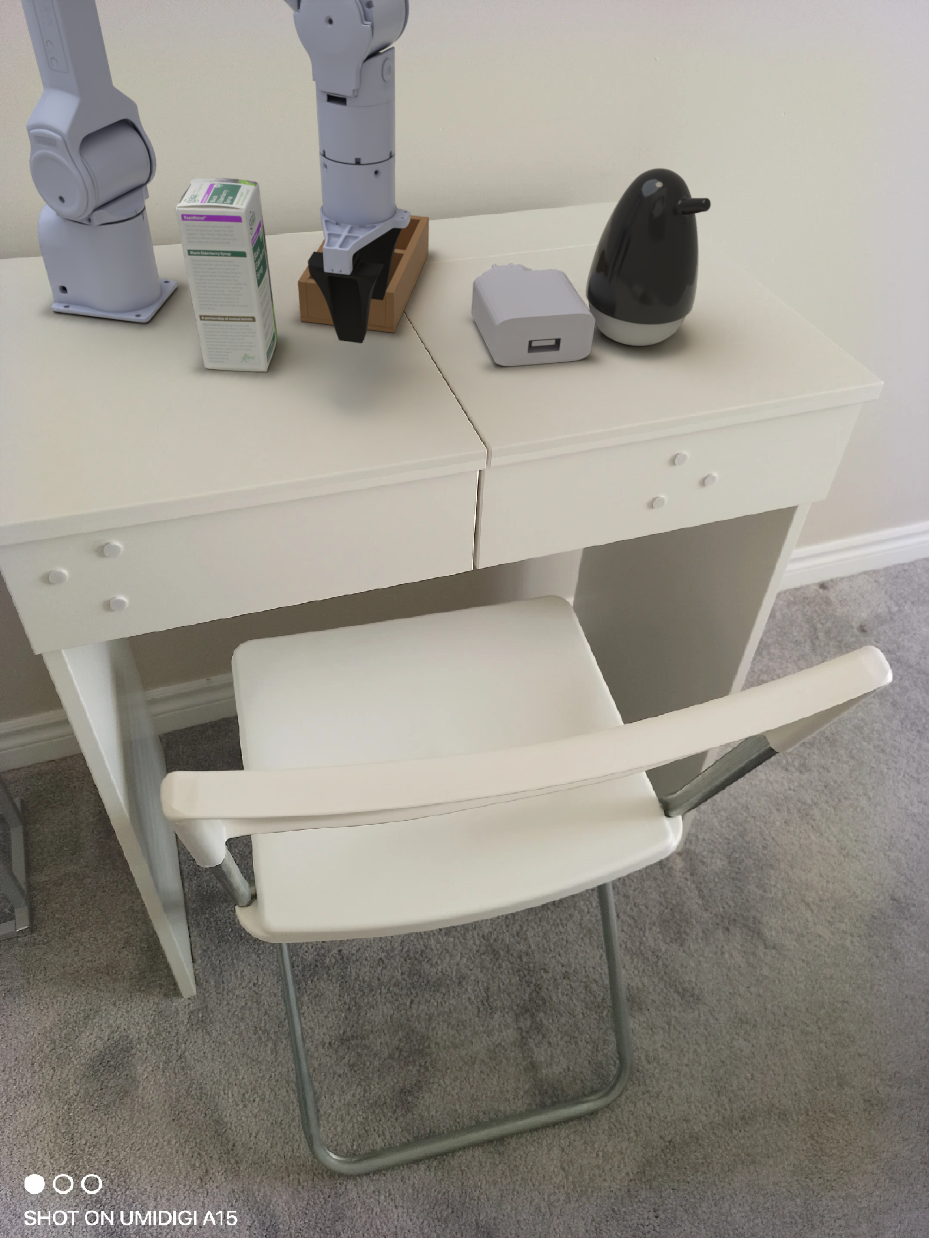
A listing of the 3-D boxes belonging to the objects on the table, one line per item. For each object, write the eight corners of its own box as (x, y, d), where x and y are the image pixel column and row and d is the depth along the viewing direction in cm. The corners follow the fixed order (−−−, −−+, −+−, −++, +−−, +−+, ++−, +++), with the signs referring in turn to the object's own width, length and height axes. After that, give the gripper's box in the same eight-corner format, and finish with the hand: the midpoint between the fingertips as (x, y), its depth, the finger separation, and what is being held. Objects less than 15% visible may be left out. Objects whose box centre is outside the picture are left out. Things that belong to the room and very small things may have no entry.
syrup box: (268, 373, 84) (250, 207, 74) (201, 370, 84) (173, 203, 74) (278, 340, 88) (262, 179, 78) (214, 337, 88) (189, 175, 78)
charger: (543, 285, 98) (589, 360, 88) (456, 291, 97) (493, 368, 86) (548, 240, 95) (597, 312, 85) (458, 245, 93) (497, 319, 83)
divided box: (300, 321, 91) (297, 281, 88) (345, 244, 103) (344, 207, 100) (394, 333, 90) (393, 293, 87) (428, 254, 102) (429, 217, 99)
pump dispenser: (638, 372, 87) (672, 204, 76) (558, 327, 92) (579, 163, 82) (708, 339, 92) (749, 177, 81) (628, 297, 97) (656, 140, 87)
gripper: (388, 193, 66) (389, 367, 76) (427, 124, 76) (424, 285, 86) (290, 182, 67) (304, 356, 77) (341, 115, 77) (348, 276, 87)
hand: (362, 318), depth 81 cm, fingers open, 7 cm apart
